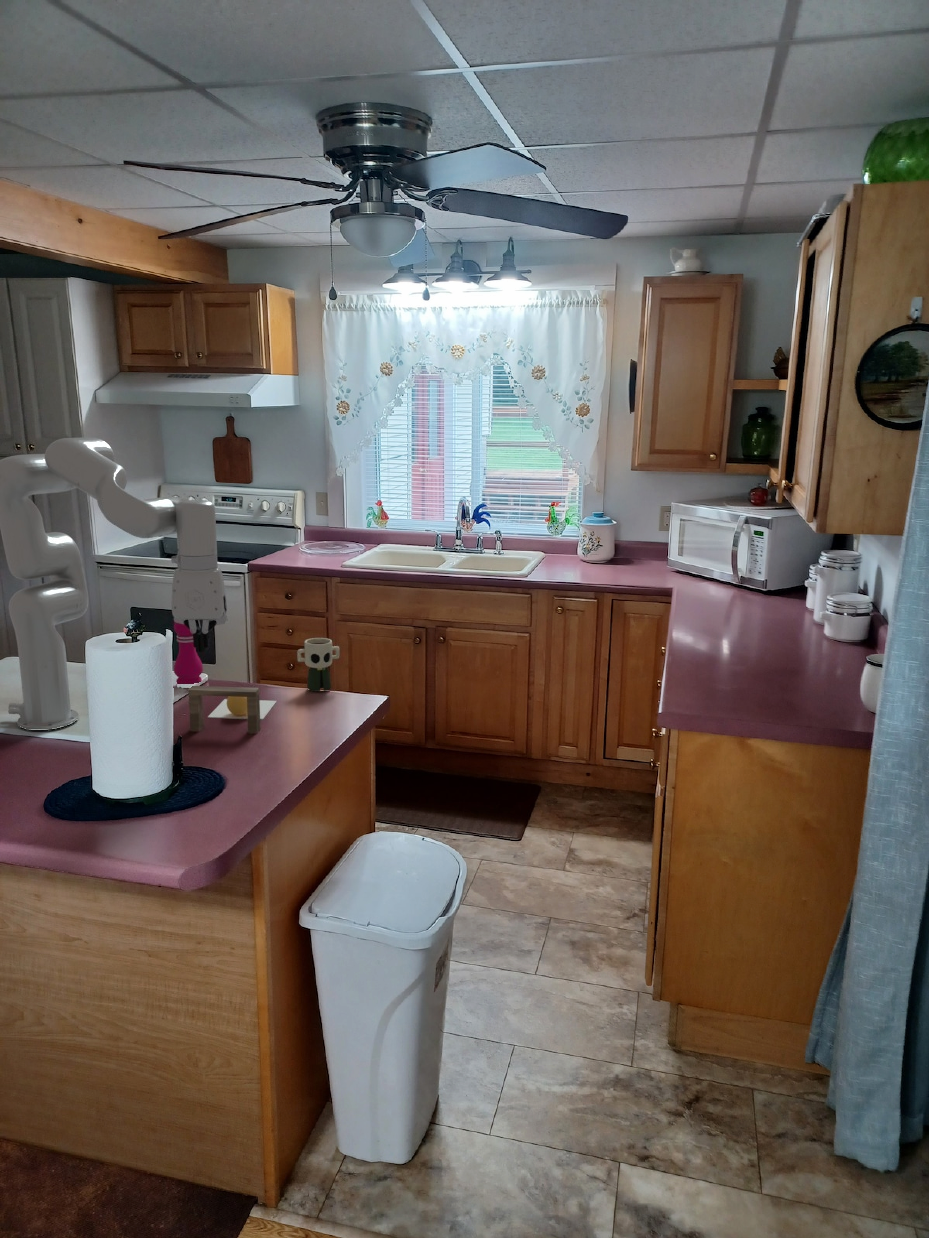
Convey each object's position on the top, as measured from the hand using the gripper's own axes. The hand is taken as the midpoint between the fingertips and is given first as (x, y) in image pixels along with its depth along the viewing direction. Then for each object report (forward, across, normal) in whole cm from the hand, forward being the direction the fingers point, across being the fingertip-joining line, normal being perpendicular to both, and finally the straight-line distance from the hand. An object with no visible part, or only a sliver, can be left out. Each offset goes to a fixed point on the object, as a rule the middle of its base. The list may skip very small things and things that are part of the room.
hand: (202, 650), depth 181 cm
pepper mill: (+22, -19, +44) cm, 53 cm away
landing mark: (+22, 0, +27) cm, 35 cm away
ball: (+19, 0, +23) cm, 30 cm away
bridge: (+22, 0, +13) cm, 26 cm away
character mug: (+22, +15, +44) cm, 52 cm away
